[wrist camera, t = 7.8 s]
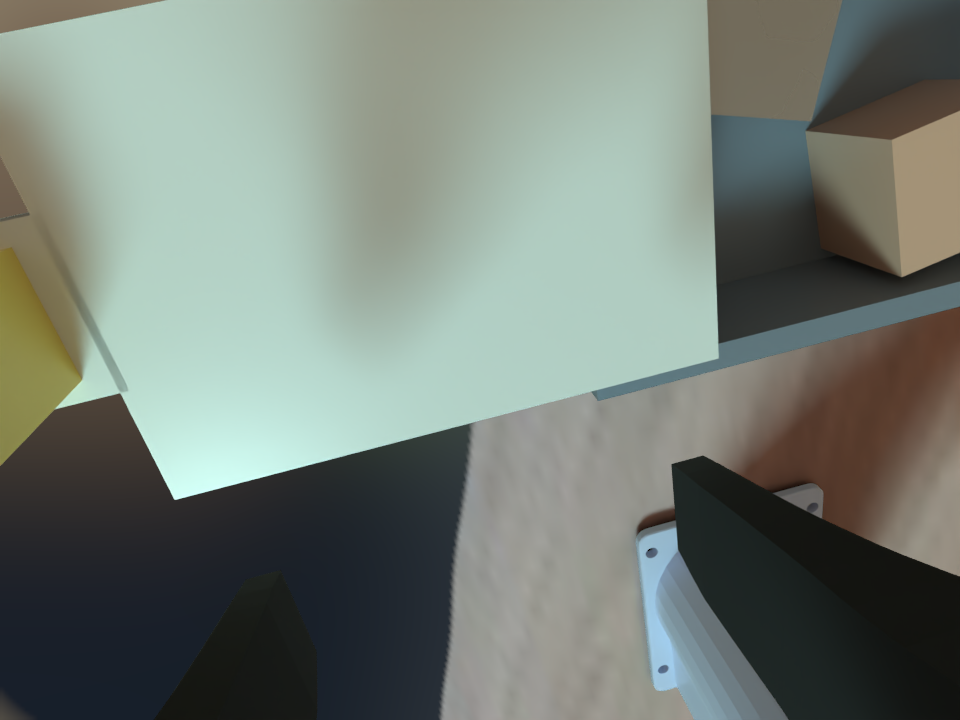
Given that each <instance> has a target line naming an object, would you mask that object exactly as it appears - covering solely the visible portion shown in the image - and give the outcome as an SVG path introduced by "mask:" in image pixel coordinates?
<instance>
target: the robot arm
mask: <svg viewBox="0 0 960 720" xmlns="http://www.w3.org/2000/svg"><path fill="white" fill-rule="evenodd" d="M672 478H673V491H674V504H675V518H676V520H675V521H671V522H668V523H664V524H661V525H657V526H653V527H650V528H646V529H644V530H642V531H641V532H640V533H639V534H638V535H637V537H636V548H637V557H638V566H639V575H640V583H641V592H642V601H643V610H644V619H645V628H646V637H647V646H648V655H649V663H650V672H651V681H652V683H653V685H654V687H655V689H657V690H659V691H665V690H669V689H672V688H675V687H678V689H679V691H680V693H681V695H682V697H683V699H684V701H685V703H686V705H687V707H688V709H689V710H690V712H691V714H692V716H693V718H694V720H960V576H957V575H954V574H951V573H948V572H946V571H943V570H940V569H938V568H935V567H933V566H930V565H928V564H925V563H922V562H920V561H917V560H915V559H912V558H909V557H907V556H904V555H902V554H899V553H897V552H894V551H892V550H890V549H887V548H885V547H882V546H880V545H878V544H875V543H873V542H871V541H869V540H867V539H864V538H862V537H860V536H858V535H856V534H853V533H851V532H849V531H847V530H845V529H842V528H840V527H838V526H836V525H834V524H832V523H830V522H828V521H826V520H824V519H822V513H823V491H822V489H821V488H819V487H818V486H817V485H816V484H814V483H808V484H804V485H801V486H797V487H794V488H790V489H786V490H783V491H779V492H776V493H771V492H769V491H767V490H765V489H764V488H762V487H760V486H758V485H756V484H754V483H753V482H751V481H749V480H747V479H745V478H744V477H742V476H740V475H738V474H736V473H734V472H733V471H731V470H729V469H727V468H725V467H724V466H722V465H720V464H718V463H716V462H714V461H712V460H711V459H709V458H707V457H705V456H700V457H696V458H693V459H689V460H685V461H682V462H678V463H674V464H672ZM809 504H810V505H809ZM650 548H653V549H652V550H650V551H647V550H648V549H650ZM316 654H317V653H316V649H315V647H314V645H313V642H312V640H311V638H310V635H309V633H308V631H307V629H306V626H305V624H304V622H303V620H302V617H301V615H300V613H299V611H298V608H297V606H296V604H295V602H294V600H293V597H292V595H291V593H290V590H289V588H288V586H287V584H286V581H285V579H284V577H283V575H282V573H281V570H280V571H276V572H272V573H269V574H265V575H261V576H258V577H254V578H250V579H246V580H245V582H244V583H243V585H242V587H241V588H240V590H239V591H238V593H237V594H236V596H235V597H234V599H233V600H232V602H231V604H230V605H229V607H228V608H227V610H226V611H225V613H224V615H223V616H222V618H221V619H220V621H219V623H218V624H217V626H216V627H215V629H214V630H213V632H212V634H211V635H210V637H209V638H208V640H207V641H206V643H205V645H204V646H203V648H202V649H201V651H200V652H199V654H198V656H197V657H196V659H195V660H194V662H193V663H192V665H191V666H190V668H189V669H188V671H187V672H186V674H185V675H184V677H183V679H182V680H181V681H180V683H179V684H178V686H177V688H176V689H175V691H174V692H173V693H172V695H171V696H170V698H169V699H168V701H167V702H166V704H165V705H164V706H163V708H162V709H161V711H160V712H159V713H158V715H157V716H156V717H155V719H154V720H316V718H317V657H316V656H317V655H316Z"/></svg>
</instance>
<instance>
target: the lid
mask: <svg viewBox="0 0 960 720" xmlns="http://www.w3.org/2000/svg"><path fill="white" fill-rule="evenodd" d="M0 157H1V159H2V161H3V163H4V165H5V167H6V169H7V171H8V173H9V175H10V177H11V178H12V181H13V183H14V184H15V187H16V188H17V190H18V192H19V194H20V196H21V198H22V200H23V202H24V204H25V206H26V208H27V210H28V213H24V214H20V215H15V216H11V217H6V218H2V219H0V466H1V465H2V464H3V462H4V461H5V460H6V459H7V458H8V457H9V456H10V455H11V454H12V453H13V452H14V451H15V450H16V449H17V448H18V447H19V446H20V445H21V444H22V443H23V442H24V441H25V439H26V438H27V437H28V436H29V435H30V434H31V433H32V432H33V431H34V430H35V429H36V428H37V427H38V426H39V425H40V424H41V423H42V422H43V420H45V419H46V417H48V415H49V414H50V413H51V412H52V411H53V410H54V409H57V408H61V407H65V406H69V405H73V404H77V403H81V402H86V401H90V400H94V399H97V398H102V397H106V396H110V395H114V394H118V393H121V395H122V397H123V399H124V401H125V403H126V405H127V407H128V409H129V411H130V413H131V415H132V417H133V419H134V421H135V423H136V425H137V426H138V429H139V431H140V433H141V435H142V436H143V438H144V440H145V442H146V444H147V446H148V448H149V450H150V452H151V454H152V456H153V458H154V460H155V462H156V464H157V466H158V468H159V470H160V472H161V474H162V476H163V478H164V480H165V482H166V484H167V486H168V488H169V489H170V491H171V494H172V495H173V497H174V499H175V500H176V499H180V498H184V497H187V496H191V495H195V494H199V493H203V492H207V491H211V490H214V489H218V488H222V487H226V486H230V485H233V484H238V483H241V482H245V481H248V480H253V479H257V478H261V477H264V476H268V475H272V474H276V473H280V472H284V471H288V470H291V469H295V468H299V467H303V466H307V465H311V464H314V463H318V462H322V461H326V460H330V459H333V458H337V457H341V456H345V455H349V454H353V453H357V452H361V451H364V450H368V449H372V448H376V447H380V446H384V445H387V444H391V443H395V442H399V441H403V440H407V439H411V438H414V437H418V436H422V435H426V434H430V433H434V432H438V431H441V430H445V429H449V428H453V427H457V426H461V425H465V424H468V423H472V422H476V421H480V420H484V419H488V418H491V417H495V416H499V415H503V414H507V413H511V412H515V411H518V410H522V409H526V408H530V407H534V406H538V405H541V404H545V403H549V402H553V401H557V400H561V399H565V398H568V397H572V396H576V395H580V394H584V393H588V392H591V391H595V390H599V389H603V388H607V387H611V386H615V385H618V384H622V383H626V382H630V381H634V380H638V379H642V378H645V377H649V376H653V375H657V374H661V373H665V372H668V371H672V370H676V369H680V368H684V367H688V366H692V365H695V364H699V363H703V362H707V361H711V360H715V359H718V358H719V352H718V321H717V290H716V259H715V229H714V198H713V167H712V137H711V106H710V75H709V44H708V14H707V0H165V1H160V2H155V3H150V4H145V5H140V6H135V7H130V8H125V9H120V10H115V11H111V12H105V13H100V14H95V15H91V16H85V17H81V18H76V19H71V20H66V21H61V22H56V23H51V24H46V25H41V26H36V27H31V28H26V29H22V30H16V31H12V32H7V33H2V34H0Z"/></svg>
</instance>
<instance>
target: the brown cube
mask: <svg viewBox="0 0 960 720" xmlns="http://www.w3.org/2000/svg"><path fill="white" fill-rule="evenodd" d="M841 4H842V0H707V14H708V44H709V75H710V106H711V115H726V116H740V117H755V118H769V119H784V120H798V121H812V117H813V113H814V109H815V105H816V101H817V97H818V93H819V90H820V86H821V82H822V78H823V74H824V70H825V66H826V62H827V58H828V54H829V51H830V47H831V43H832V39H833V35H834V31H835V27H836V23H837V19H838V15H839V11H840V8H841Z"/></svg>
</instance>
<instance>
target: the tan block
mask: <svg viewBox="0 0 960 720" xmlns="http://www.w3.org/2000/svg"><path fill="white" fill-rule="evenodd" d="M805 133H806V140H807V148H808V155H809V163H810V170H811V178H812V185H813V193H814V200H815V208H816V215H817V223H818V230H819V238H820V245H821V249H824V250H827V251H830V252H832V253H835V254H838V255H841V256H844V257H846V258H849V259H852V260H855V261H858V262H860V263H863V264H866V265H869V266H872V267H874V268H877V269H880V270H883V271H886V272H888V273H891V274H894V275H897V276H900V277H904V276H906V275H908V274H911V273H913V272H915V271H918V270H920V269H922V268H925V267H927V266H929V265H932V264H934V263H936V262H939V261H941V260H943V259H946V258H948V257H950V256H953V255H955V254H957V253H960V79H940V80H923V81H920V82H918V83H916V84H913V85H911V86H909V87H906V88H904V89H902V90H899V91H897V92H895V93H892V94H890V95H888V96H885V97H883V98H881V99H878V100H876V101H874V102H871V103H869V104H867V105H864V106H862V107H860V108H858V109H855V110H853V111H851V112H848V113H846V114H844V115H841V116H839V117H837V118H834V119H832V120H830V121H827V122H825V123H823V124H820V125H818V126H816V127H813V128H811V129H809V130H806V131H805Z"/></svg>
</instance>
